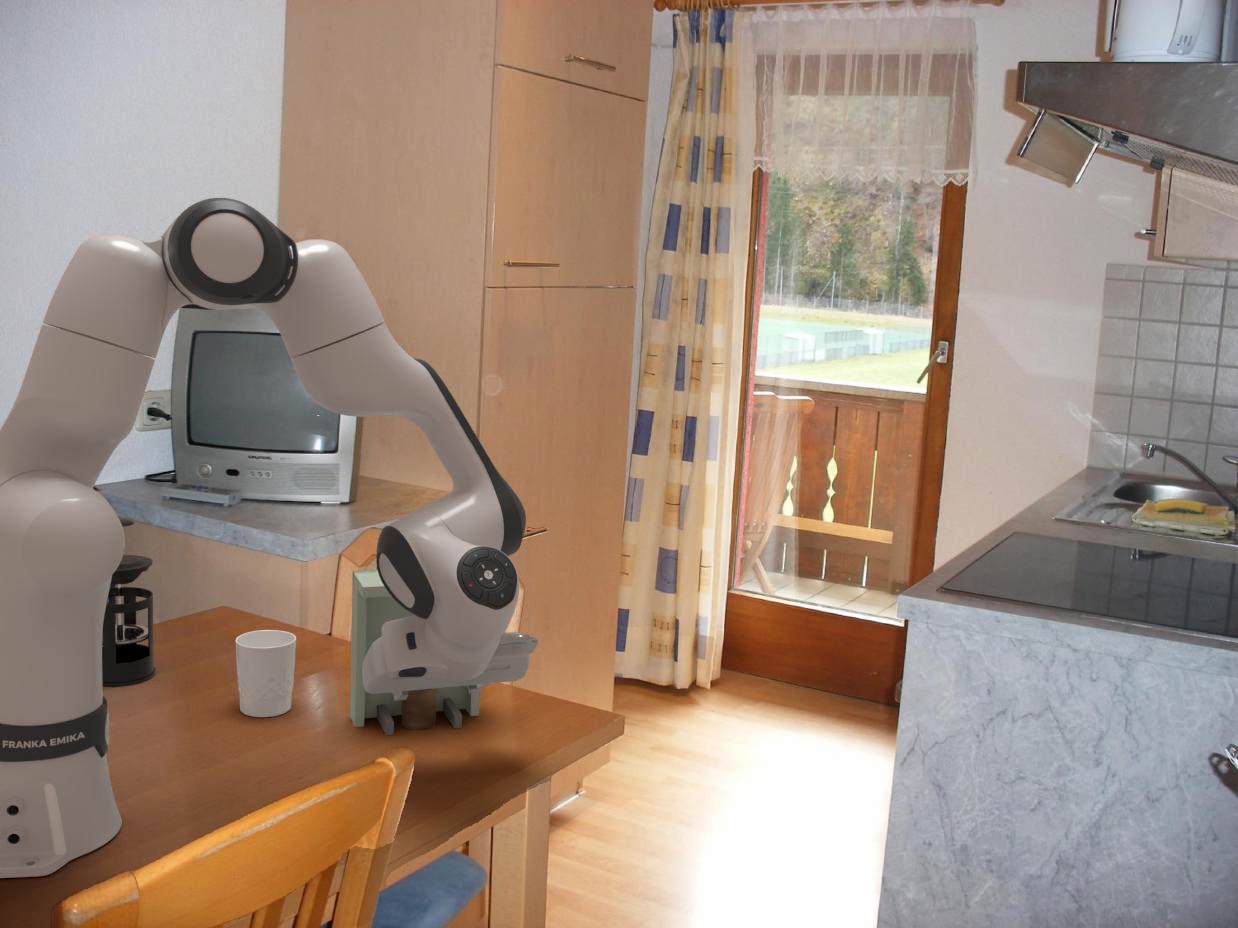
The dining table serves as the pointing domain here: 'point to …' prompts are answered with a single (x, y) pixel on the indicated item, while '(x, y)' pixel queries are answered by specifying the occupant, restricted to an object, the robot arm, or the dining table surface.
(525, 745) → the dining table surface
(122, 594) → the french press
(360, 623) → the shelf
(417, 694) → the pepper mill
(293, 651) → the white cup
